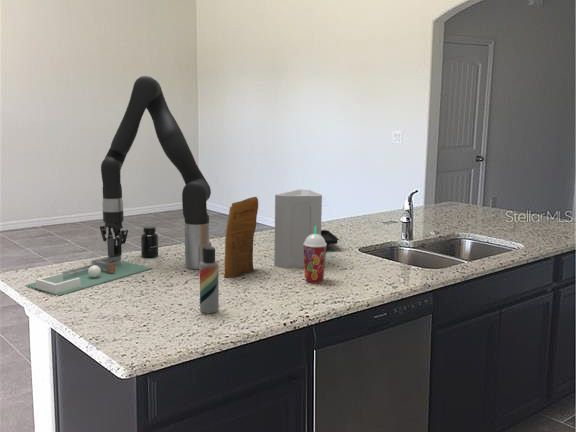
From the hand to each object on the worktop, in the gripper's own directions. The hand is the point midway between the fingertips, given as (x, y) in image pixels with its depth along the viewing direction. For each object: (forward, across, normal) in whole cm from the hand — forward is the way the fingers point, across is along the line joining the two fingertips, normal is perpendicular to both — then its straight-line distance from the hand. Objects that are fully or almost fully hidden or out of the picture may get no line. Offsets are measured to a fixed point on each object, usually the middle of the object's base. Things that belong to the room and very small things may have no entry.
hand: (114, 253), depth 238 cm
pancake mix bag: (+5, -45, -21) cm, 50 cm away
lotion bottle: (+5, -63, +17) cm, 65 cm away
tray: (+5, -42, -75) cm, 86 cm away
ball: (+2, -8, +16) cm, 18 cm away
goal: (+5, -8, +31) cm, 32 cm away
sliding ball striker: (+4, -4, +4) cm, 7 cm away
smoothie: (+5, -72, -29) cm, 78 cm away
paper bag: (+5, -56, -46) cm, 73 cm away
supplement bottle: (+5, 0, -18) cm, 19 cm away
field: (+5, -6, +16) cm, 18 cm away
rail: (+5, 0, +13) cm, 14 cm away
